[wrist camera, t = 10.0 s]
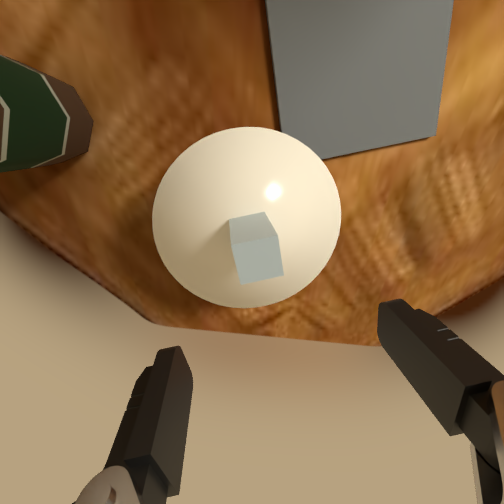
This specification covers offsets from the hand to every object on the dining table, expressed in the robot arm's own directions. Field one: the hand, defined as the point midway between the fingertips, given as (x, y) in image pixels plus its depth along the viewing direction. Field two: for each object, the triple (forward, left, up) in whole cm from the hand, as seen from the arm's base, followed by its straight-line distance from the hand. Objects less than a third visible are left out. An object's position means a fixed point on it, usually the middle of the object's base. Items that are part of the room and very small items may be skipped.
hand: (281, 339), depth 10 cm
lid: (0, 0, -13) cm, 13 cm away
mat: (-14, -12, -21) cm, 28 cm away
